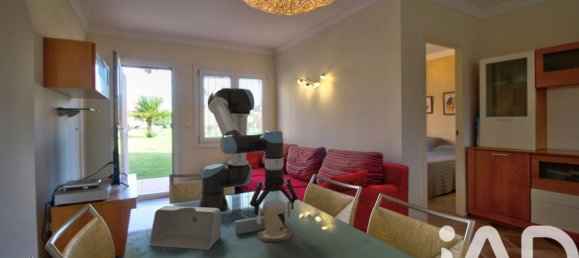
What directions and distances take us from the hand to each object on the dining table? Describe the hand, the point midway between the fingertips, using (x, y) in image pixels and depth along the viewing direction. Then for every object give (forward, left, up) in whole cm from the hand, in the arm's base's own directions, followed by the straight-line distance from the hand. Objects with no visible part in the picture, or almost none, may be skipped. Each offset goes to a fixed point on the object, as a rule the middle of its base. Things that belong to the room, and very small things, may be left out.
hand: (274, 220), depth 113 cm
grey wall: (-9, -3, -6) cm, 11 cm away
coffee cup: (0, 0, -5) cm, 5 cm away
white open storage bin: (-13, -31, -7) cm, 35 cm away
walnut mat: (0, 0, -6) cm, 6 cm away
